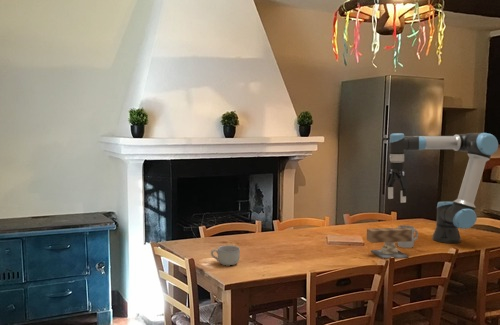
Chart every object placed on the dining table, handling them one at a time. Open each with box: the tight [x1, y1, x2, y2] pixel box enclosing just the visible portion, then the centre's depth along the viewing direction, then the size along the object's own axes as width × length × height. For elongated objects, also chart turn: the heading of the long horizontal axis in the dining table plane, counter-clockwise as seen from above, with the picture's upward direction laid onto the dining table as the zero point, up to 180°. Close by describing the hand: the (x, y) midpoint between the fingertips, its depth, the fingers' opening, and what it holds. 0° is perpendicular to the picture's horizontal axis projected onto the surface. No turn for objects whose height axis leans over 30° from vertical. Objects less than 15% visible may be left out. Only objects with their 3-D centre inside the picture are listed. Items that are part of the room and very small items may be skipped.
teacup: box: [210, 244, 241, 267], centre depth 227 cm, size 14×11×8 cm
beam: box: [366, 227, 412, 244], centre depth 245 cm, size 22×6×6 cm, turn 100°
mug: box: [397, 224, 419, 249], centre depth 265 cm, size 12×8×11 cm
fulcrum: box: [370, 242, 410, 260], centre depth 246 cm, size 14×14×8 cm
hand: (396, 200), depth 259 cm, fingers open, 13 cm apart
